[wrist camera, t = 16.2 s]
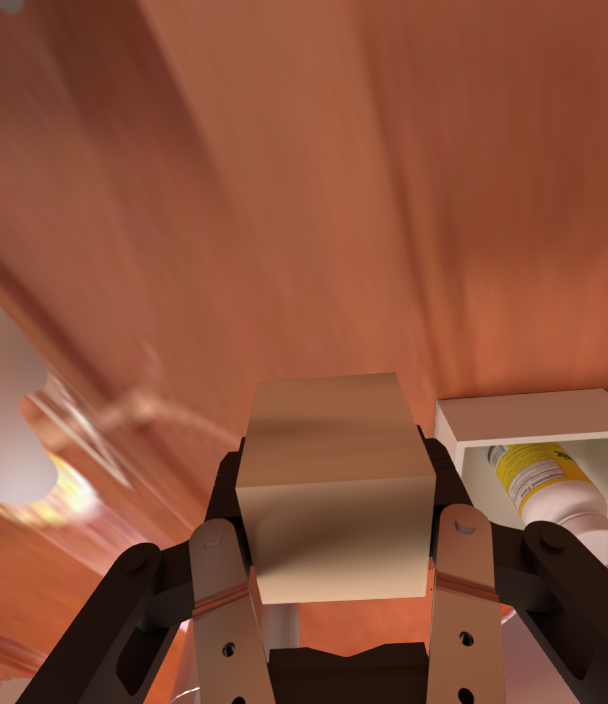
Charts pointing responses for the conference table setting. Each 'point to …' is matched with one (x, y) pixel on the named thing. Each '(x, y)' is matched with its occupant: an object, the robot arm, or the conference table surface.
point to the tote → (522, 439)
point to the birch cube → (336, 491)
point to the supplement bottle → (552, 491)
